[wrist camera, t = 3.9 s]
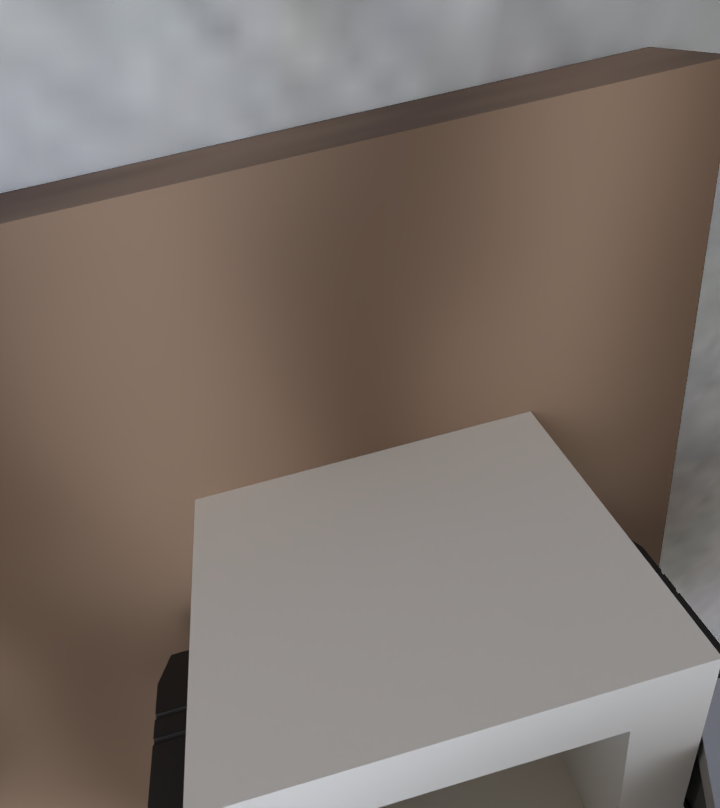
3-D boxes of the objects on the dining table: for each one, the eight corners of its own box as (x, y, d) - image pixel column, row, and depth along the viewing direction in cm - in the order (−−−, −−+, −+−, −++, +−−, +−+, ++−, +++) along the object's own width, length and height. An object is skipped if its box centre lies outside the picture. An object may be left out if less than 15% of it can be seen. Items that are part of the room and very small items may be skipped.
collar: (530, 411, 11) (723, 658, 7) (534, 620, 14) (664, 871, 10) (194, 500, 10) (183, 818, 6) (280, 693, 14) (308, 984, 10)
